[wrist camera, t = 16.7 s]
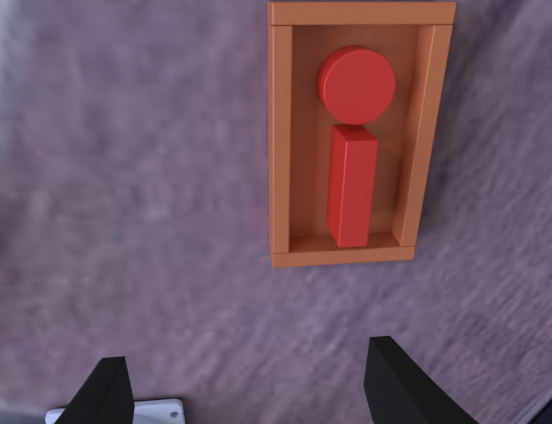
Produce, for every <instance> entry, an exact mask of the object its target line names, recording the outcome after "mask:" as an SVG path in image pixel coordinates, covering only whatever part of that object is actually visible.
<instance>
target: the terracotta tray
mask: <svg viewBox="0 0 552 424" xmlns="http://www.w3.org/2000/svg"><path fill="white" fill-rule="evenodd" d="M456 5H457V3H456V2H405V1H269V2H268V146H269V250H270V255H271V260H272V266H273V268H279V267H295V266H312V265H329V264H346V263H362V262H379V261H396V260H412V259H414V253H415V245H416V241H417V235H418V229H419V224H420V218H421V212H422V206H423V200H424V194H425V188H426V182H427V177H428V171H429V165H430V159H431V153H432V147H433V141H434V135H435V130H436V124H437V118H438V112H439V106H440V100H441V94H442V88H443V83H444V77H445V71H446V65H447V59H448V53H449V47H450V41H451V35H452V30H453V25H451V24H453V23H454V17H455V11H456ZM351 45H355V46H362V47H365V48H368V49H370V50H373V51H376V52H378V53H380V54H382V55H383V56H384V57H385V58H386V59H387V60H388V61H389V62H390V64H391V65H392V67H393V70H394V73H395V77H396V89H395V94H394V97H393V99H392V102H391V104H390V105H389V107H388V108H387V109H386V111H385V112H384V113H383V114H382V115H381V116H379V117H378V118H377V119H375V120H373V121H371V122H369V123H366V124H362V126H364V127H365V128H366V129H367V130H368V131H369V132H370V133H371V134H372V135H373V136H374V137H376V138H377V139H378V140H379V147H378V156H377V165H376V173H375V182H374V191H373V200H372V209H371V218H370V227H369V236H368V244H367V246H360V247H342V248H339V247H338V246H337V244H336V242H335V239H334V237H333V235H332V233H331V231H330V228H329V226H328V224H327V222H326V216H327V199H328V183H329V167H330V150H331V134H332V126H333V125H346V124H345V123H343V122H341V121H339V120H337V119H336V118H335V117H334V116H333V115H332V114H331V113H330V112H329V111H328V110H327V109H326V108H325V107H324V106H323V104H322V103H321V101H320V99H319V97H318V94H317V89H316V80H317V75H318V72H319V69H320V67H321V65H322V63H323V62H324V60H325V59H326V58H327V57H328V56H329V55H330V54H331V53H333V52H334V51H335V50H337V49H339V48H342V47H345V46H351Z"/></svg>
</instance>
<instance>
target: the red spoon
mask: <svg viewBox="0 0 552 424" xmlns="http://www.w3.org/2000/svg"><path fill="white" fill-rule="evenodd" d="M316 89H317V94H318V97H319V99H320V101H321V103H322V104H323V106H324V107H325V108H326V109H327V110H328V111H329V112H330V113H331V114H332V115H333V116H334V117H335V118H336V119H337V120H339V121H341V122H343V123H345V124H346V125H333V126H332V134H331V150H330V167H329V183H328V199H327V216H326V222H327V224H328V226H329V228H330V231H331V233H332V235H333V237H334V239H335V242H336V244H337V246H338V247H339V248H342V247H360V246H367V244H368V236H369V227H370V218H371V209H372V200H373V191H374V182H375V173H376V165H377V156H378V147H379V140H378V139H377V138H376V137H374V136H373V135H372V134H371V133H370V132H369V131H368V130H367V129H366V128H365V127H364V126H362V124H366V123H369V122H371V121H373V120H375V119H377V118H378V117H379V116H381V115H382V114H383V113H384V112H385V111H386V109H387V108H388V107H389V105H390V104H391V102H392V99H393V97H394V94H395V89H396V77H395V73H394V70H393V67H392V65H391V64H390V62H389V61H388V60H387V59H386V58H385V57H384V56H383V55H382V54H380V53H378V52H376V51H373V50H370V49H368V48H365V47H362V46H355V45H351V46H345V47H342V48H339V49H337V50H335V51H334V52H333V53H331V54H330V55H329V56H328V57H327V58H326V59H325V60H324V62H323V63H322V65H321V67H320V69H319V72H318V75H317V80H316Z"/></svg>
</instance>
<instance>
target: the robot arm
mask: <svg viewBox="0 0 552 424" xmlns="http://www.w3.org/2000/svg"><path fill="white" fill-rule="evenodd" d="M364 389H365V393H366V397H367V401H368V405H369V409H370V412H371V416H372V420H373V422H374V424H479V423H478V422H477V421H476V420H474V419H473V418H472V417H471V416H470V415H469V414H468V413H466V412H465V411H464V410H463V409H462V408H461V407H460V406H459V405H458V404H456V403H455V402H454V401H453V400H452V399H451V398H450V397H449V396H448V395H447V394H446V393H445V392H444V391H443V390H442V389H441V388H440V387H439V386H438V385H437V384H436V383H435V382H433V381H432V380H431V379H430V378H429V377H428V376H427V375H426V374H425V372H424V371H423V370H422V369H421V368H420V367H419V366H418V365H417V364H416V363H415V362H414V361H413V360H412V359H411V358H410V357H409V356H408V355H407V354H406V353H405V351H404V350H403V349H402V348H401V347H400V346H399V345H398V344H397V343H396V342H395V341H394V340H393V339H392V338H391V337H390V336H380V337H370V340H369V348H368V356H367V364H366V371H365V379H364ZM45 421H46V424H185V417H184V410H183V403H182V401H180V400H179V399H164V400H153V401H142V402H134V399H133V394H132V389H131V385H130V380H129V375H128V370H127V366H126V361H125V356H122V357H109V358H102V359H101V360H100V361H99V362H98V364H97V365H96V367H95V368H94V370H93V371H92V373H91V374H90V375H89V377H88V378H87V380H86V381H85V382H84V384H83V385H82V387H81V388H80V389H79V391H78V392H77V394H76V395H75V396H74V398H73V399H72V400H71V402H70V403H69V404H68V406H67V407H66V408H62V409H53V410H50V411H48V413H47V415H46V417H45Z"/></svg>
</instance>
